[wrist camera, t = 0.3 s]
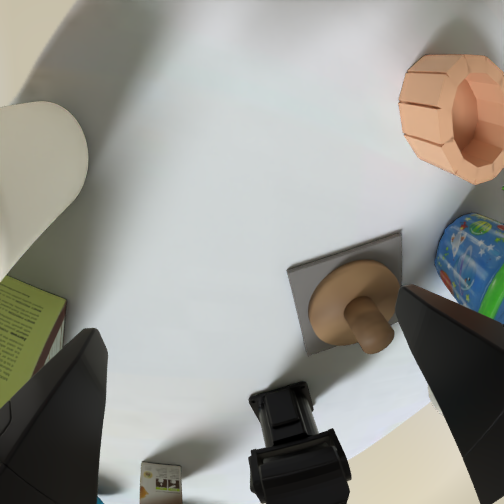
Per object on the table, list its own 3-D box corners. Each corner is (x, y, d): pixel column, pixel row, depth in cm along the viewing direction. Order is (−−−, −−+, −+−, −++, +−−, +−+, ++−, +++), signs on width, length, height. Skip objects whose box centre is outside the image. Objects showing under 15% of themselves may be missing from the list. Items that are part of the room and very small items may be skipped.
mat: (397, 318, 29) (399, 320, 29) (306, 352, 29) (308, 356, 29) (398, 232, 25) (401, 235, 24) (286, 270, 25) (288, 273, 24)
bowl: (482, 156, 22) (517, 171, 18) (407, 176, 22) (442, 195, 18) (472, 55, 18) (510, 58, 14) (389, 56, 18) (427, 53, 14)
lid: (393, 318, 29) (418, 353, 24) (314, 348, 29) (332, 389, 24) (393, 246, 24) (428, 279, 20) (299, 278, 24) (321, 321, 20)
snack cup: (456, 154, 22) (547, 196, 13) (510, 188, 24) (579, 229, 16) (391, 306, 28) (445, 381, 20) (454, 310, 31) (503, 368, 22)
